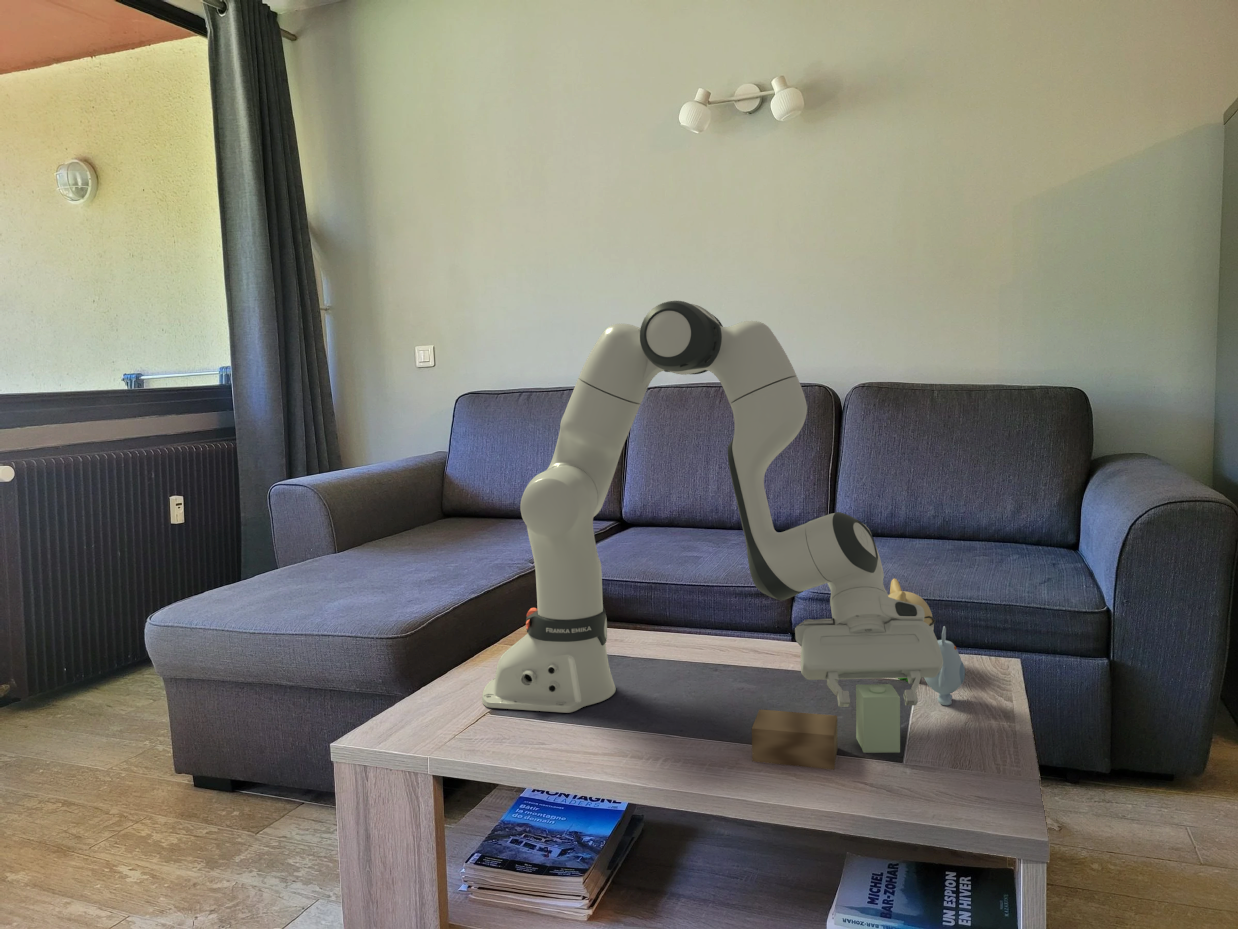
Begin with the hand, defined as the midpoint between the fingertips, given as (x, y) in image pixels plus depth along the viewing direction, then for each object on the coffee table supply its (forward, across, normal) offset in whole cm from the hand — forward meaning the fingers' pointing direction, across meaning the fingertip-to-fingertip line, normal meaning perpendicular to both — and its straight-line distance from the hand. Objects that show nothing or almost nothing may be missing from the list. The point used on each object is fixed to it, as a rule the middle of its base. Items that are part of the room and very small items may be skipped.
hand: (878, 704), depth 126 cm
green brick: (+4, 0, +4) cm, 6 cm away
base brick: (+7, -12, +2) cm, 14 cm away
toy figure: (-7, +14, +15) cm, 21 cm away
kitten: (-18, +12, +26) cm, 34 cm away
